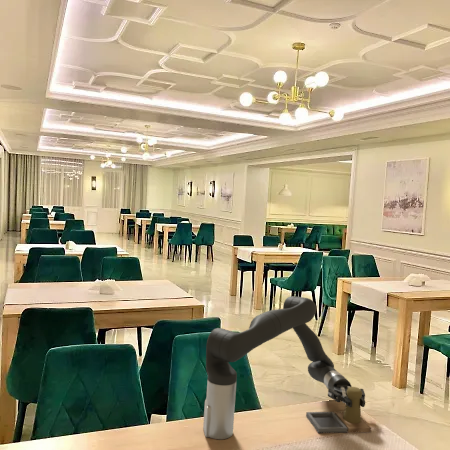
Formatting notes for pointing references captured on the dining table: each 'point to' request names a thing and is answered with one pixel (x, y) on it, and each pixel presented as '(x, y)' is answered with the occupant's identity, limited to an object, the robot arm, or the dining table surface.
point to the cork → (353, 406)
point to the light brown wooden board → (354, 424)
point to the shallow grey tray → (326, 422)
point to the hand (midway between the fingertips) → (357, 404)
